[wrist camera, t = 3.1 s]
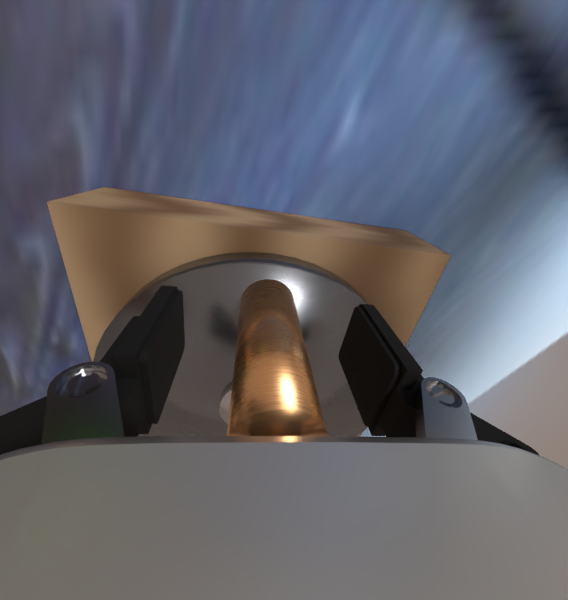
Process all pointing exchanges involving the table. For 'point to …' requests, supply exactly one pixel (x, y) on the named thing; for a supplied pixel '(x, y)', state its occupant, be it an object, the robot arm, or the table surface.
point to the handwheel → (255, 348)
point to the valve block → (228, 251)
